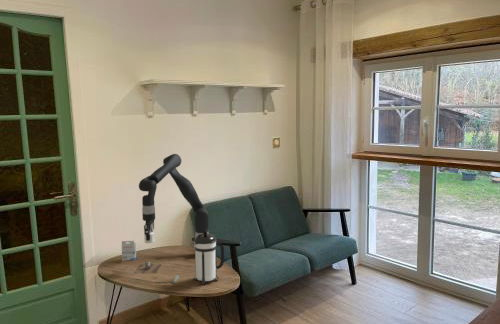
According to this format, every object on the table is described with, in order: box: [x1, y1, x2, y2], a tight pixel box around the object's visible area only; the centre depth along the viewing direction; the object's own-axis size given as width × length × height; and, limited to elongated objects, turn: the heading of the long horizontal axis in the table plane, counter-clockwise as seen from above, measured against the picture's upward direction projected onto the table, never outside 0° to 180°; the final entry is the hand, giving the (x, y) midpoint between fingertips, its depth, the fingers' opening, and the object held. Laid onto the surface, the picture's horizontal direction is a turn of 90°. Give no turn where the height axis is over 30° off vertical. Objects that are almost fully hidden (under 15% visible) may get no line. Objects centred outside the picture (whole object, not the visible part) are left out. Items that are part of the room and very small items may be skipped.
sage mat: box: [154, 274, 180, 284], centre depth 221 cm, size 12×10×1 cm
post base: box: [133, 261, 162, 274], centre depth 234 cm, size 14×14×6 cm
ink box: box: [121, 240, 137, 262], centre depth 250 cm, size 8×5×15 cm, turn 96°
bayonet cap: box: [143, 231, 156, 244], centre depth 230 cm, size 6×6×6 cm
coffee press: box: [193, 231, 225, 286], centre depth 220 cm, size 17×16×30 cm
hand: (149, 238), depth 230 cm, fingers closed on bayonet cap, 6 cm apart
